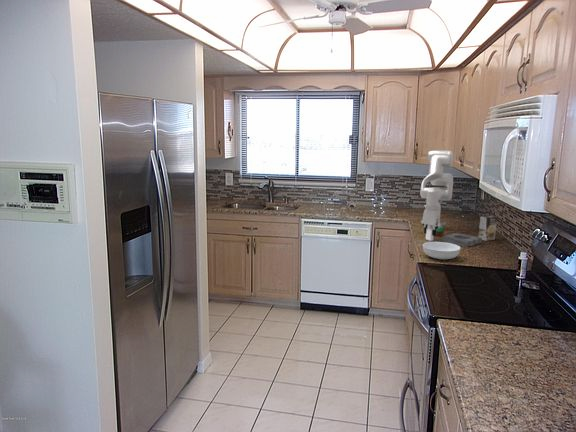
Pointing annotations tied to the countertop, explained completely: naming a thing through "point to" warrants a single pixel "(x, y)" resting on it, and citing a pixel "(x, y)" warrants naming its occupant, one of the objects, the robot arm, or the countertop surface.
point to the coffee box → (487, 227)
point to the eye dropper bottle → (429, 233)
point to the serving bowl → (441, 250)
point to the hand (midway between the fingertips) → (429, 234)
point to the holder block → (461, 239)
